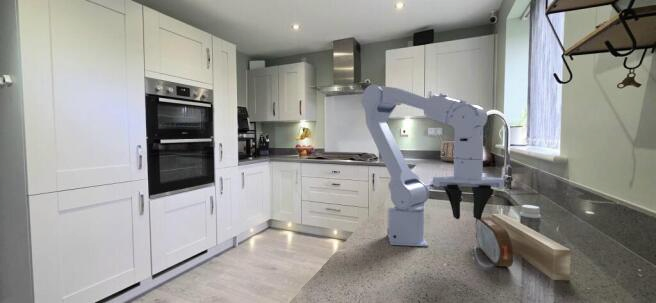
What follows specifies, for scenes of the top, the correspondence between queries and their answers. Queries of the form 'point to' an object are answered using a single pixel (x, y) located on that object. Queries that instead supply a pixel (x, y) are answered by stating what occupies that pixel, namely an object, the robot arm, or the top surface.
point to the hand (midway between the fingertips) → (466, 218)
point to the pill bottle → (531, 217)
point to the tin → (494, 242)
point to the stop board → (537, 248)
